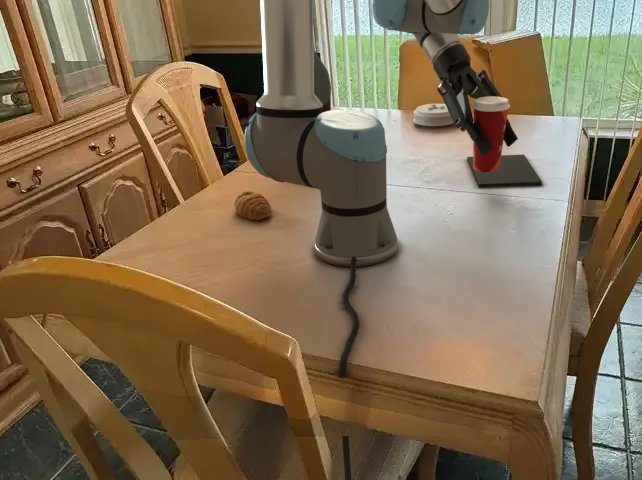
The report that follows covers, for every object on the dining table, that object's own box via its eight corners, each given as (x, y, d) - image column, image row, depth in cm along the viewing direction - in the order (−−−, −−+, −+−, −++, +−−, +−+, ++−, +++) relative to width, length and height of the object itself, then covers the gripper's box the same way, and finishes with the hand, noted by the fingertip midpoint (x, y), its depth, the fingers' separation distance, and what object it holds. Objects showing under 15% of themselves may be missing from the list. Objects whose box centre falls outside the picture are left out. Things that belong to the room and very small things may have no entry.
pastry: (280, 216, 129) (278, 198, 127) (251, 225, 126) (248, 207, 124) (259, 204, 136) (257, 187, 133) (231, 212, 133) (228, 194, 130)
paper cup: (510, 170, 134) (518, 101, 125) (480, 175, 132) (485, 106, 123) (491, 160, 140) (497, 93, 131) (461, 165, 138) (465, 98, 129)
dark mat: (541, 185, 137) (542, 181, 137) (478, 187, 138) (478, 184, 137) (523, 157, 153) (523, 154, 153) (467, 159, 154) (467, 156, 153)
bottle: (295, 161, 159) (281, 28, 141) (306, 150, 166) (294, 23, 148) (330, 162, 157) (320, 28, 139) (339, 151, 164) (331, 22, 146)
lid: (434, 115, 189) (435, 98, 186) (465, 123, 181) (466, 104, 178) (404, 124, 183) (404, 106, 180) (435, 132, 175) (435, 113, 172)
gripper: (468, 59, 139) (518, 146, 139) (403, 75, 129) (458, 169, 129) (489, 35, 133) (541, 126, 133) (422, 49, 122) (479, 148, 122)
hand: (500, 147), depth 131 cm, fingers closed on paper cup, 8 cm apart
